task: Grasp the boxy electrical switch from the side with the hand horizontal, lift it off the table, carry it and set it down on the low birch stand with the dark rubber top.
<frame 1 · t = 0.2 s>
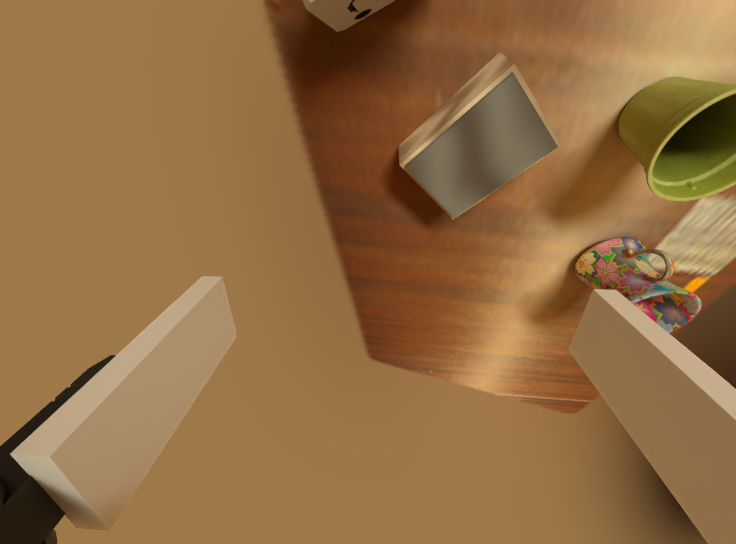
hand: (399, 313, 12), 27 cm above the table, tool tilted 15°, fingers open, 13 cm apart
birch stand: (469, 136, 33), on the table
plant pot: (651, 111, 31), on the table
mug: (608, 249, 43), on the table
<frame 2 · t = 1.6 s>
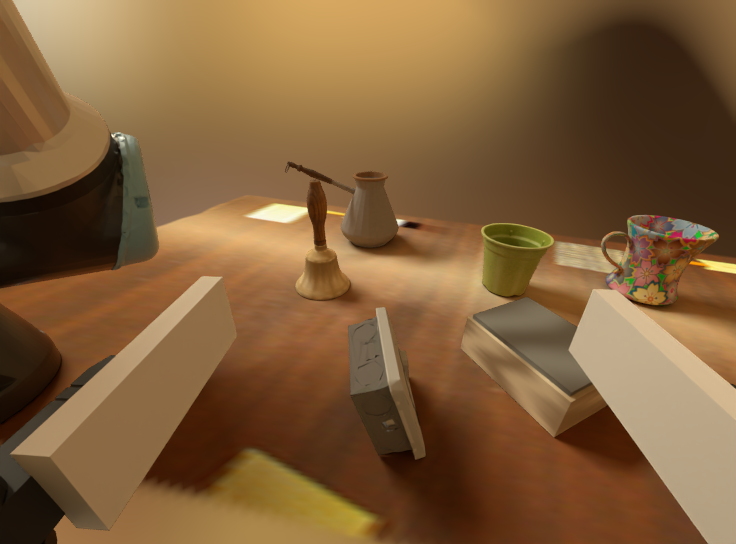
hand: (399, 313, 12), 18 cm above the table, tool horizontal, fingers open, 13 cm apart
birch stand: (531, 371, 33), on the table
electrical switch: (385, 417, 29), on the table
hand bell: (323, 286, 48), on the table
plant pot: (502, 287, 48), on the table
coffee pot: (345, 240, 64), on the table
mug: (626, 293, 47), on the table
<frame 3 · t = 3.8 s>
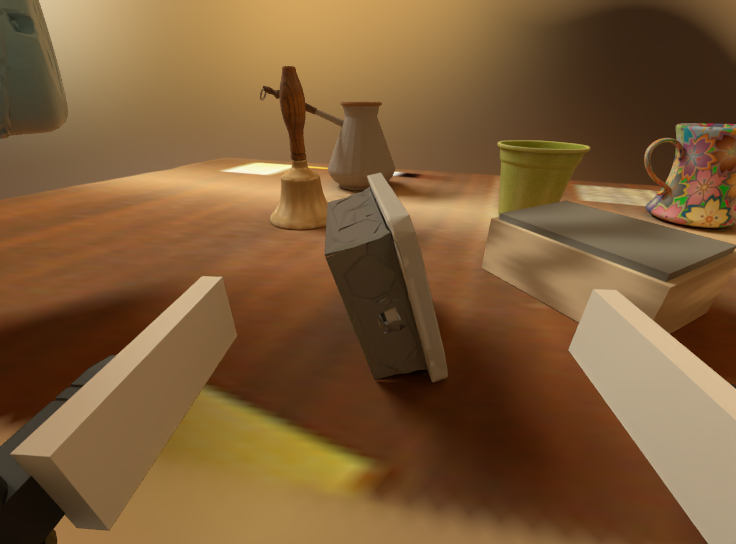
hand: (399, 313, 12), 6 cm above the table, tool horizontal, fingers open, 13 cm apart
birch stand: (580, 287, 25), on the table
electrical switch: (384, 337, 20), on the table
hand bell: (304, 220, 39), on the table
plant pot: (523, 218, 40), on the table
coffee pot: (333, 186, 55), on the table
mug: (672, 221, 39), on the table
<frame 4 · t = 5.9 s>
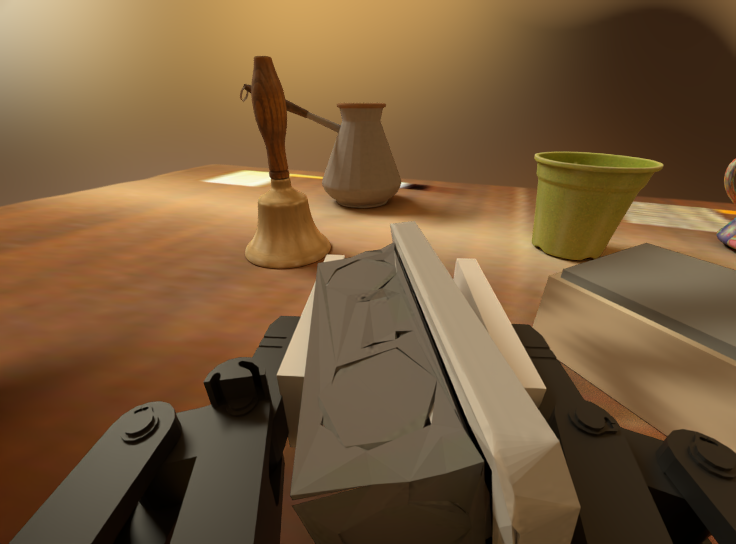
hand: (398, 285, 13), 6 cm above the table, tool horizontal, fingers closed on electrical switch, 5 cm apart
birch stand: (685, 382, 16), on the table
electrical switch: (395, 499, 12), on the table, touching gripper
hand bell: (289, 251, 31), on the table
plant pot: (563, 250, 32), on the table
coffee pot: (329, 201, 47), on the table
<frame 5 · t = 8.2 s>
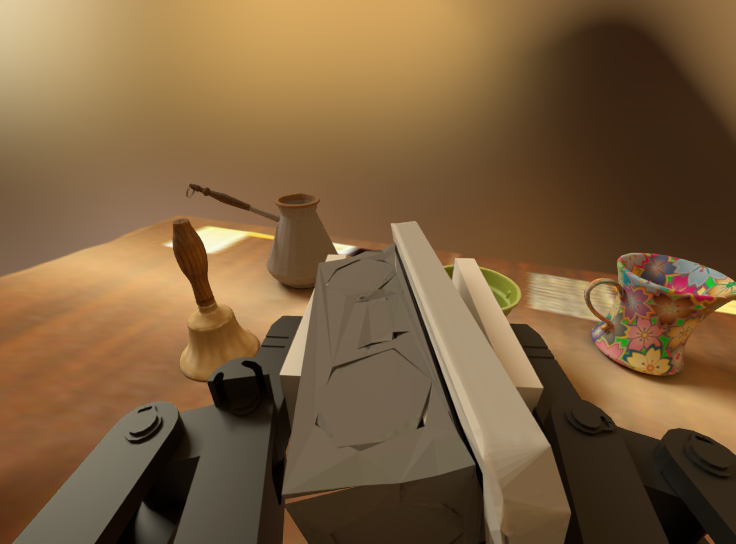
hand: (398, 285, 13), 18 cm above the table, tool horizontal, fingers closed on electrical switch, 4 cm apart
electrical switch: (394, 499, 12), point 13 cm above the table, touching gripper
hand bell: (221, 354, 36), on the table
plant pot: (460, 348, 37), on the table
coffee pot: (275, 277, 52), on the table
mug: (617, 352, 37), on the table
when the fingers open (12 cm above the table, at t = 10.0 s): electrical switch drops 2 cm, resting on birch stand.
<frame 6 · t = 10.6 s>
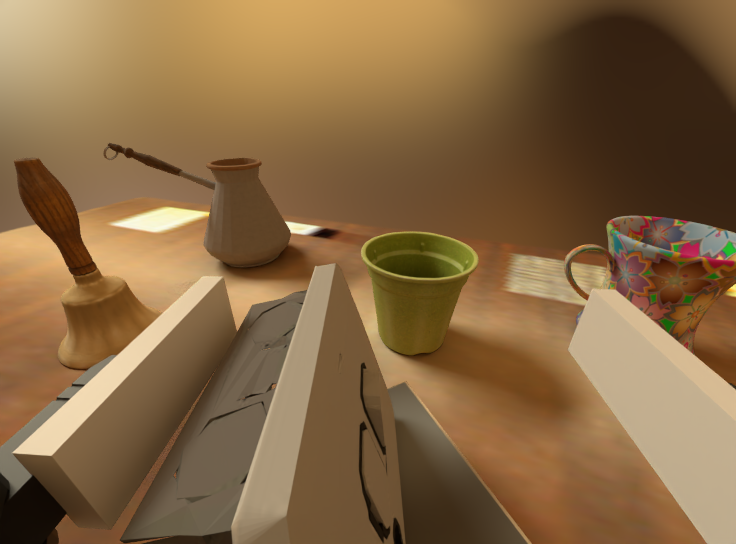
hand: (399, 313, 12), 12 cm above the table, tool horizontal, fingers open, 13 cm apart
electrical switch: (334, 520, 12), point 5 cm above the table, touching birch stand
hand bell: (118, 338, 30), on the table
plant pot: (411, 335, 30), on the table
coffee pot: (218, 256, 45), on the table
mug: (609, 342, 29), on the table
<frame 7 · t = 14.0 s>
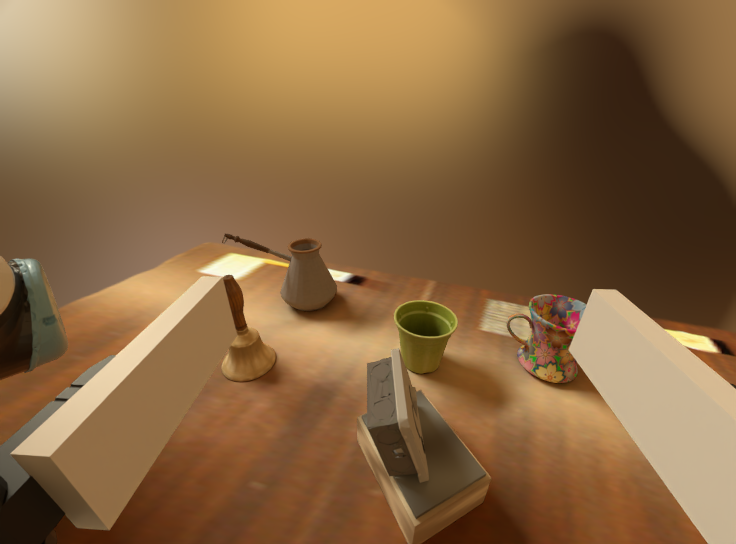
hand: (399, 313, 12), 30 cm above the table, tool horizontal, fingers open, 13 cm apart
birch stand: (415, 469, 36), on the table
electrical switch: (397, 442, 34), point 5 cm above the table, touching birch stand
hand bell: (249, 362, 51), on the table
plant pot: (420, 361, 51), on the table
coffee pot: (287, 301, 66), on the table
mug: (535, 365, 50), on the table
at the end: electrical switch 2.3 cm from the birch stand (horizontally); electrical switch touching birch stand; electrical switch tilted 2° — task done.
